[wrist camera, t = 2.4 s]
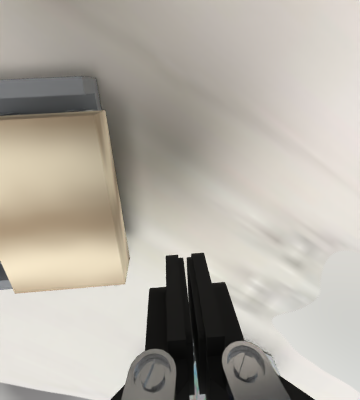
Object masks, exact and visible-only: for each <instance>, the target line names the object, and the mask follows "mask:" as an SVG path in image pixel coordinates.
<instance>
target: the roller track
mask: <svg viewBox="0 0 360 400" xmlns="http://www.w3.org/2000/svg"><path fill="white" fill-rule="evenodd" d="M78 109H93V111H101V105H100V99H99V93H98V87H97V81H96V78H92V77H84V76H75V77H53V78H31V79H9V80H0V114H2V113H20V115H25V114H44V113H63V112H65V111H68V110H78ZM4 289H13V288H12V286H11V283H10V281H9V279H8V277H7V275H6V272H5V270H4V268H3V266H2V264H1V263H0V290H4Z"/></svg>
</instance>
